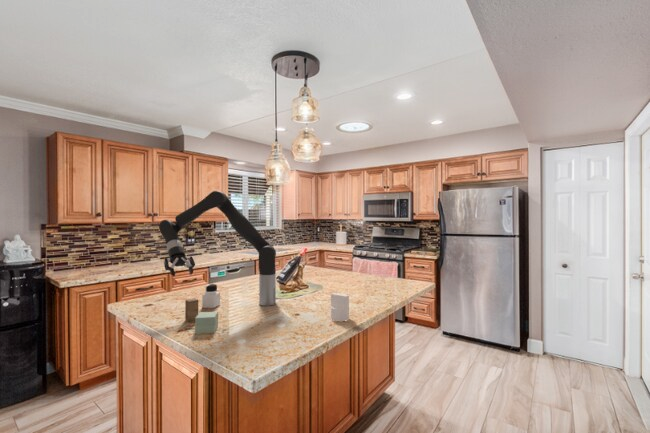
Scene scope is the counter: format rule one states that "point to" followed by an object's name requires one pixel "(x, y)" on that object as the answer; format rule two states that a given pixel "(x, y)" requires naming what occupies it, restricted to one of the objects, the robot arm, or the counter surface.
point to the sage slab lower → (206, 329)
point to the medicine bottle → (210, 297)
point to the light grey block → (339, 307)
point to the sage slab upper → (206, 318)
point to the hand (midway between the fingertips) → (183, 274)
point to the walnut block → (191, 310)
